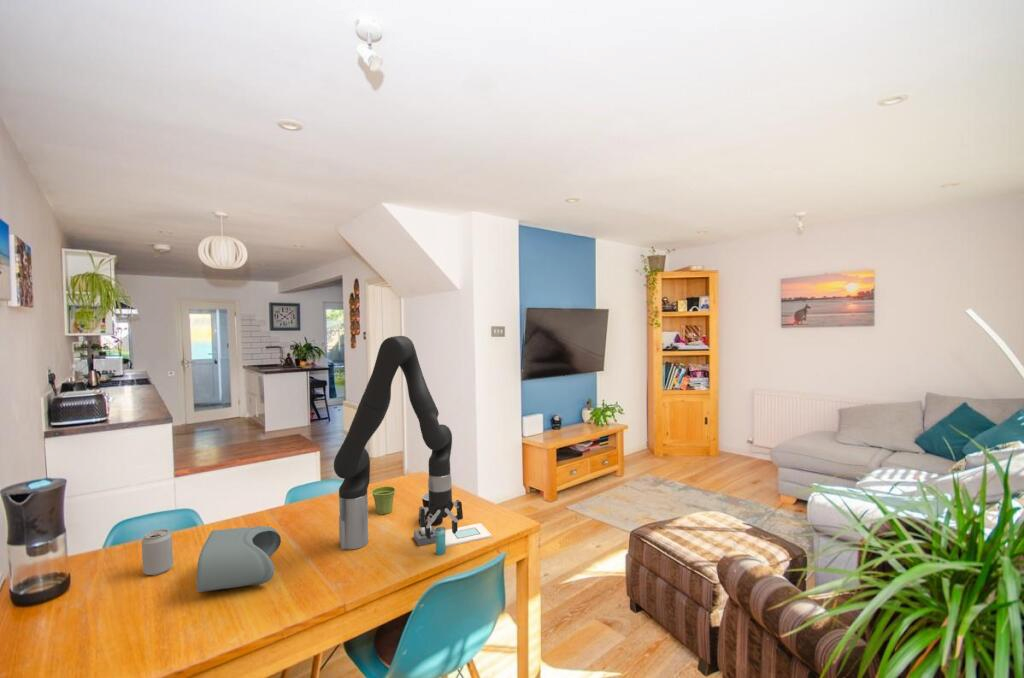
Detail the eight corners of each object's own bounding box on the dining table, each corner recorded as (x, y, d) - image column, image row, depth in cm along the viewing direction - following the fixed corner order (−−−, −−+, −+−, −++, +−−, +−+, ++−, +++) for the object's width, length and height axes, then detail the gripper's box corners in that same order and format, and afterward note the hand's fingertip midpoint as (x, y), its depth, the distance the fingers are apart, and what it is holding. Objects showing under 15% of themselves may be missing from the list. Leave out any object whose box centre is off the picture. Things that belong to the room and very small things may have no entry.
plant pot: (367, 515, 188) (366, 493, 187) (380, 505, 197) (379, 485, 196) (388, 517, 185) (387, 495, 185) (400, 508, 194) (400, 487, 194)
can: (138, 578, 143) (136, 539, 142) (149, 566, 150) (148, 528, 150) (167, 575, 145) (165, 536, 144) (177, 562, 152) (175, 525, 152)
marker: (437, 556, 155) (436, 531, 155) (434, 551, 158) (434, 527, 158) (447, 553, 157) (446, 530, 156) (444, 549, 160) (443, 525, 159)
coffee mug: (443, 527, 176) (443, 500, 176) (420, 527, 177) (419, 500, 176) (448, 514, 188) (447, 489, 187) (426, 514, 188) (426, 489, 188)
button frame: (418, 546, 162) (418, 538, 162) (413, 537, 168) (413, 530, 168) (438, 541, 165) (438, 534, 165) (433, 533, 171) (433, 526, 171)
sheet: (445, 547, 161) (445, 545, 161) (436, 533, 171) (436, 531, 171) (491, 536, 168) (491, 535, 168) (480, 524, 178) (480, 522, 178)
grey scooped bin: (214, 564, 151) (215, 524, 150) (280, 555, 158) (281, 517, 157) (195, 603, 130) (196, 556, 130) (273, 591, 137) (274, 547, 137)
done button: (422, 538, 164) (422, 530, 164) (419, 534, 167) (419, 526, 167) (432, 536, 166) (432, 528, 166) (429, 532, 169) (429, 524, 169)
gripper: (421, 494, 150) (423, 545, 151) (464, 486, 156) (465, 535, 157) (415, 487, 157) (417, 535, 158) (457, 479, 163) (458, 526, 163)
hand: (441, 535), depth 157 cm, fingers open, 8 cm apart
